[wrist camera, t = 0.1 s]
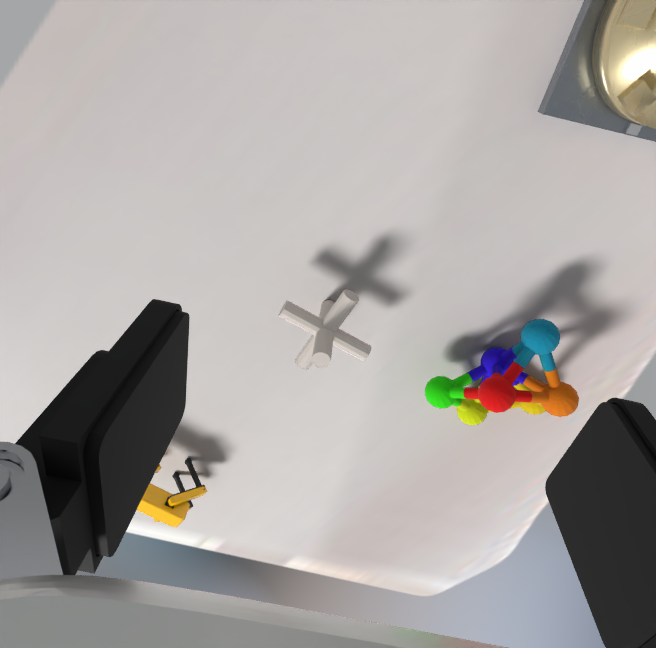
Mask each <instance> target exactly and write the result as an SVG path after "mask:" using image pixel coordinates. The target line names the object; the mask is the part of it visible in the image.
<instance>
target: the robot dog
mask: <svg viewBox="0 0 656 648" xmlns="http://www.w3.org/2000/svg"><path fill="white" fill-rule="evenodd" d="M185 464H186V465H187V467H188V469H189V471H190V473H191V476H192V478H193V480H194V482H195V485H196V488H192V489H189V490H186V491H185V489H184V487H183V484H182V482H181V480H180V477H179V473H177V472H176V473H174V474H173V478H174V479H175V481H176V484H177V486H178V488H179V491H180V493H177V494H174V495H173V494H171V493H169V492H167V491H165V490H163V489H161V488H159V487H157V486H155V485H153V484H151V483H149V485H148V487H147V490H146V492H145V494H144V496H143V498H142V500H141V502H140V504H139V506H138V508H137V510H138V511H140V512H142V513H144V514H146V515H148V516H151V517H153V518H154V520H155V522H159V521H161V522H163V523H165V524H168V525H170V526H172V527H178V526H179V524H180V523H181V522H182V521H183V520H184V519H185V517H186V514H187V512H188V511H189V510H190V509H191V508H192V507H193V504H192V502H191V500H192V499H195V498H198V497H201V496H203V495H204V494H205V493H206V492H207V490H206V488H205V485H201V483H200V480H199V478H198V476H197V474H196V471H195V469H194V467H193V465H192V460H191V459H190V458H187V459H186V460H185ZM160 469H161V466H160V464H159V465H158V467H157V469H156V471H155V473H157V472H158V471H159V470H160Z"/></svg>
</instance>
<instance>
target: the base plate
mask: <svg viewBox="0 0 656 648" xmlns="http://www.w3.org/2000/svg"><path fill="white" fill-rule="evenodd" d="M607 2H608V0H584V2H583V5H582V7H581V10H580V12H579V14H578V17H577V19H576V22H575V24H574V26H573V29H572V31H571V34H570V36H569V38H568V41H567V43H566V45H565V48H564V50H563V53H562V55H561V57H560V60H559V62H558V65H557V67H556V69H555V72H554V74H553V77H552V79H551V81H550V84H549V86H548V89H547V91H546V93H545V96H544V98H543V100H542V103H541V105H540V108H539V110H538V112H540V113H542V114H545V115H549V116H553V117H557V118H561V119H565V120H569V121H573V122H578V123H582V124H586V125H590V126H594V127H598V128H602V129H606V130H610V131H614V132H618V133H623V134H627V135H631V136H635V137H639V138H643V139H647V140H651V141H655V142H656V129H654V128H651V127H648V126H645V125H641V124H638V123H635V122H632V121H629V120H627V119H625V118H623V117H621V116H619V115H618V114H617V113H615V112H614V111H613V110H611V108H610V107H609V106H608V105H607V104H606V103H605V102H604V100H603V98H602V97H601V95H600V93H599V91H598V89H597V86H596V83H595V79H594V75H593V67H592V50H593V43H594V37H595V33H596V29H597V26H598V23H599V20H600V17H601V15H602V12H603V10H604V8H605V6H606V4H607Z"/></svg>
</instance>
